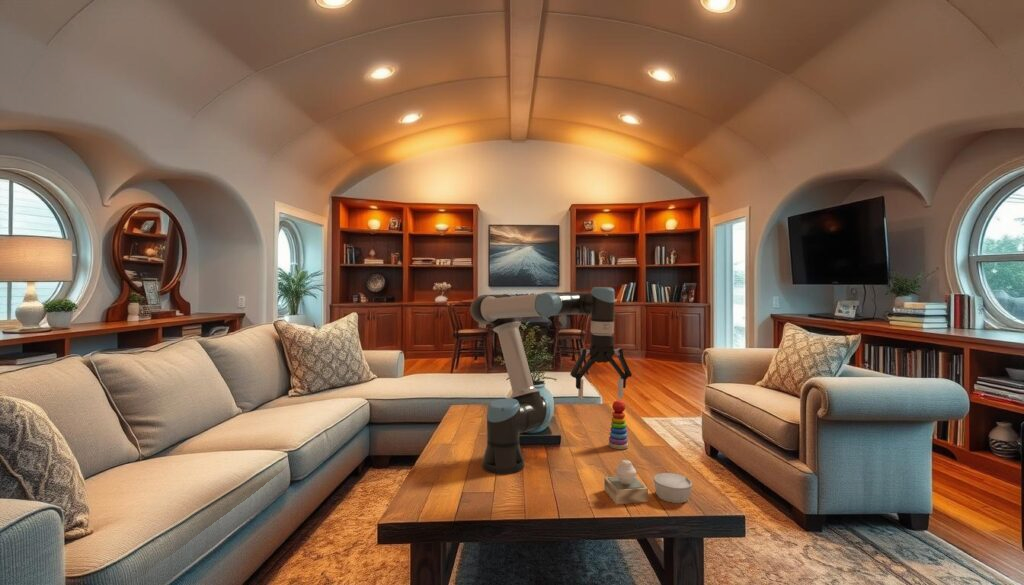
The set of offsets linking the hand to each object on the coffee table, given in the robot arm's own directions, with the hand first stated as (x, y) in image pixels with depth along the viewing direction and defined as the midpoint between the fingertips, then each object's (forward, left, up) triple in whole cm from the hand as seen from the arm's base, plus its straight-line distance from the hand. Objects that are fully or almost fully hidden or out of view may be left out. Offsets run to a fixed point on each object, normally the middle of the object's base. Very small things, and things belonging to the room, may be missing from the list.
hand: (600, 398), depth 153 cm
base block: (+4, -11, -28) cm, 30 cm away
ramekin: (+18, -14, -28) cm, 36 cm away
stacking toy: (+19, +32, -28) cm, 47 cm away
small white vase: (+4, -11, -24) cm, 27 cm away
